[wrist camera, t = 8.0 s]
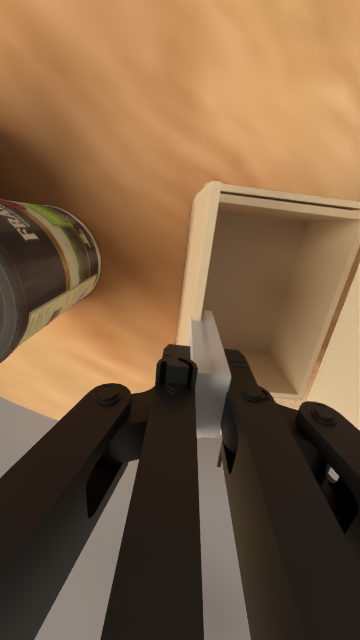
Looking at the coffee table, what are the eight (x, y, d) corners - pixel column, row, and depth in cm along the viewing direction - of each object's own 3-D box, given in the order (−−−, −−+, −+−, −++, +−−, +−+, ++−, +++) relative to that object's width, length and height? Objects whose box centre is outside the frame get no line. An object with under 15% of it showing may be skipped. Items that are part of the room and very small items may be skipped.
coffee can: (7, 187, 23) (-227, 135, 10) (112, 227, 24) (33, 231, 11) (-3, 286, 26) (-183, 347, 13) (89, 316, 28) (9, 399, 15)
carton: (193, 194, 23) (200, 180, 16) (313, 210, 24) (375, 203, 16) (174, 350, 29) (173, 393, 22) (269, 360, 30) (300, 404, 22)
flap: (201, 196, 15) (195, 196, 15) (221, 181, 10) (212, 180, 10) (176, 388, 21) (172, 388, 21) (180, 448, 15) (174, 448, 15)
